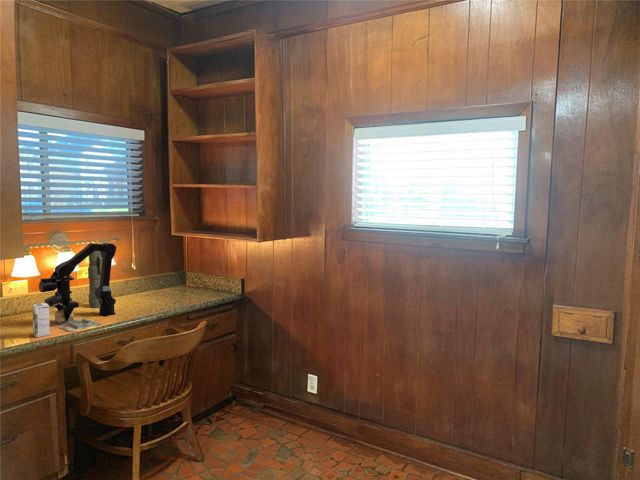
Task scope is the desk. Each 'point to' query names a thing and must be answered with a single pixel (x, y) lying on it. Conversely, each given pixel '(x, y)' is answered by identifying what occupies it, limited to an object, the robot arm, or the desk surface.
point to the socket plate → (79, 325)
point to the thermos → (94, 277)
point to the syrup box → (41, 320)
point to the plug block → (62, 317)
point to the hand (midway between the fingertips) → (64, 319)
